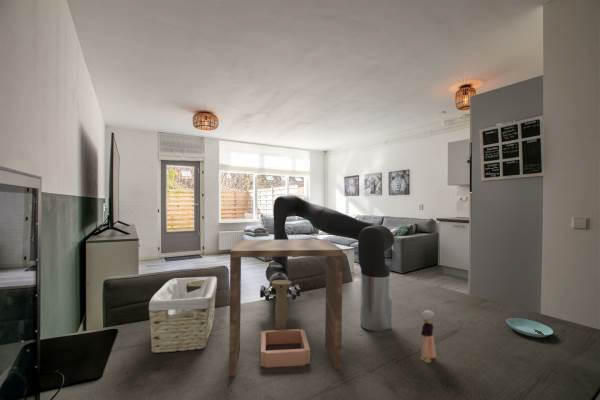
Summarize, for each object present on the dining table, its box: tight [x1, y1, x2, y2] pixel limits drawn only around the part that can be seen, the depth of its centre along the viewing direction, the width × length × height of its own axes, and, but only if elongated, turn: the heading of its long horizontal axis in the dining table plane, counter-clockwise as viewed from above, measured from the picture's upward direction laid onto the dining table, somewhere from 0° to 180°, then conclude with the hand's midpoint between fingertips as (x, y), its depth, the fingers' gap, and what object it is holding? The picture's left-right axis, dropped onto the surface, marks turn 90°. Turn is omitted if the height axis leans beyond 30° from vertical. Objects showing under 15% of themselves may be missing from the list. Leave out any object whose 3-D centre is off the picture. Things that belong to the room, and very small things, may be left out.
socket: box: [260, 328, 311, 368], centre depth 78 cm, size 12×12×4 cm
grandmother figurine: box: [419, 309, 437, 364], centre depth 76 cm, size 8×4×13 cm, turn 148°
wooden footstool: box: [228, 239, 343, 377], centre depth 78 cm, size 27×18×30 cm, turn 97°
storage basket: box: [148, 276, 218, 353], centre depth 88 cm, size 24×16×15 cm
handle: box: [272, 279, 292, 330], centre depth 93 cm, size 5×6×15 cm
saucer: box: [505, 317, 554, 338], centre depth 92 cm, size 12×12×2 cm
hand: (281, 297), depth 97 cm, fingers open, 8 cm apart
